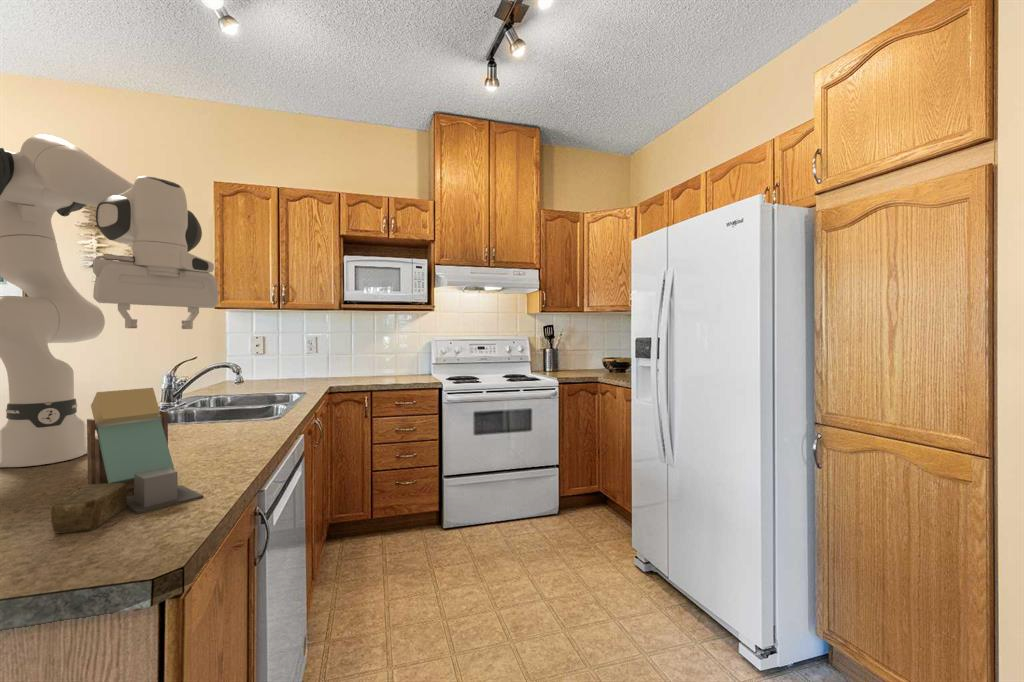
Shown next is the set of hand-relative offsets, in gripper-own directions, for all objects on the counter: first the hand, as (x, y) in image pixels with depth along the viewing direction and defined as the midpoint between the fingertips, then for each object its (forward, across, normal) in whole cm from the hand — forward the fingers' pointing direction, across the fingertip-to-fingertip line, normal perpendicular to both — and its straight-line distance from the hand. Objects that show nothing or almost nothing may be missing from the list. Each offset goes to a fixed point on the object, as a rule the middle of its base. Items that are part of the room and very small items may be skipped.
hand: (160, 328), depth 95 cm
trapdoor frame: (+32, -4, +5) cm, 32 cm away
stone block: (+32, -13, -13) cm, 37 cm away
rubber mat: (+31, -3, -11) cm, 33 cm away
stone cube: (+26, -4, -12) cm, 29 cm away
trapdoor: (+23, -4, +3) cm, 23 cm away
